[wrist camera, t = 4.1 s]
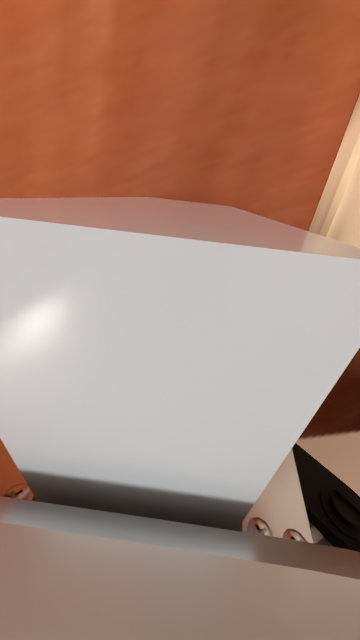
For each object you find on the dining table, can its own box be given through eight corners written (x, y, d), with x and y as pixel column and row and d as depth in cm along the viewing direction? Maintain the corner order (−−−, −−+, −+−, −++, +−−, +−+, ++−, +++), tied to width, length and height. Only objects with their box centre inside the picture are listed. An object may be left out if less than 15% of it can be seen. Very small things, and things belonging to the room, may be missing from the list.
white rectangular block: (149, 197, 9) (-141, 199, 1) (230, 206, 9) (416, 265, 1) (145, 388, 15) (88, 588, 7) (193, 395, 15) (187, 603, 7)
